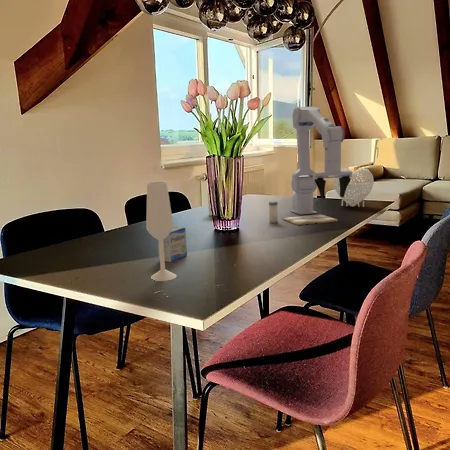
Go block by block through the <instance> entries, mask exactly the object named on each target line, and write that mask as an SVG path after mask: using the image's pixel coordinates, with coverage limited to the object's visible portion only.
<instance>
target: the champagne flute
mask: <svg viewBox="0 0 450 450" xmlns="http://www.w3.org/2000/svg"><path fill="white" fill-rule="evenodd" d="M172 214H173V213H172V209H171V202H170V195H169V190H168V182H167V181H150V182H146V215H145V216H146V217H145V218H146V221H145V222H146V224H145V225H146V227H145V228H146V230H147V232H148V234H149V235H151V236H152V237H153V238H155V240H157V241H158V240H159V252H158V255H159V254H160V260H159V264H160V265H159V267H160V269H159V270H158V271H157V272H155V273H154V274H152V275H151V276H150V277H151V279H153V280H152V281H154V280H155V281H154V282H167V281H171V280H174V279H176V278H177V274H176V273H173V272H171V271H170V270H168V269H166V263H165V259H164V244H163V239H165V238H166V237H167V236H168V235H169V234H170V233H171V231H172V229H173V227H174V220H173V216H172ZM151 279H150V280H151Z"/></svg>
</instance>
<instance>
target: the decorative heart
mask: <svg viewBox="0 0 450 450" xmlns="http://www.w3.org/2000/svg"><path fill="white" fill-rule="evenodd" d="M348 171H350V172H352V177H349V178H351V181H350V182H349V184H348V186H347V188H346V191H345V195H344V197H340V182H339V178H332V179H333V187H334V189H335V192H336V193H337V195H338V196H339V197H340V198H341V207H343V206H344V202H345V203H346V205H345V206H346V207H348V206H350V207H355V206H358V207H359V208H360V203H361V202H362V208H364V207H365V199H366V198H367V197H368V196H369V194H370V193H371V191H372V189H373V186H374V182H375V181H374V176H373V173H372V172H371V171H370V170H369V169H367V168H359V169H355V170H354V171H353V170H352V169H349V168H346V167H345V168H341V172H348ZM340 178H342V177H340Z"/></svg>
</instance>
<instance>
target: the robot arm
mask: <svg viewBox="0 0 450 450" xmlns="http://www.w3.org/2000/svg"><path fill="white" fill-rule="evenodd" d="M292 126H293V127H292V128H293V129H294V130H296V141H297V142H296V144H297V146H296V147H297V165H298V166H297V167H298V169H296V170H295V171H294V172H293V173H292V174H291V175H292V176H291V182H290V183H291V184H290V185H291V189H292V191H293V192H294V193H293V194H292V210H290V212H292V213H295V214H297V215H301V216H303V215H313V214H318V212H317V211H315V210H314V193H315V191H316V190H317V189H318V193H319V196H320V199H325V196H326V195H325V194H326V193H325V192H326V191H325V189H326V188H325V187H326V184H327V183H326V182H327V180H325V179H334V178H339V182H340V192H339V193H340V196H339V198H341V197H344V195H345V191H346V189H347V187H348V184H349V182H350V181H352V180H351V178H349V177H352V172H350V171H348V172H341V169H342V165H341V164H342V154H341V153H342V143H343V141H344V140H345V130H344V128H343V126H342V125H338V126H336V125H335V124H334V123H333V122H332V121H331V120H330V118H329V117H328V116H327V117H324V116H322V115H321V109H320V108H319V107H318V106H317V105H316V106H295V108H294V109H293V112H292ZM314 127H315V129H316V131H317V132H318V133H319V134H320V135H321V140H322V144H323V148H324V172H315V171H314V170H313V169H311V157H310V156H311V155H310V136H309V135H310V133H309V132H310V129H312V128H314ZM340 177H342V178H340ZM345 196H346V195H345Z"/></svg>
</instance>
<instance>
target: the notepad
mask: <svg viewBox="0 0 450 450" xmlns="http://www.w3.org/2000/svg"><path fill="white" fill-rule="evenodd" d="M282 220H283V221H286V222H289V223H291V224H294V225H296V226H298V225H299V226H307V225H306V224H308V225H316V224H315V223H317V224H324V223H325V224H326V223H331V222H332V223H333V222H338V221H339V219H337V218H334V217H331V216H327V215H325V214H320V213H319V214H318V213H316V214H306V215H301V216H299V215H298V216H290V217H283V218H282Z"/></svg>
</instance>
